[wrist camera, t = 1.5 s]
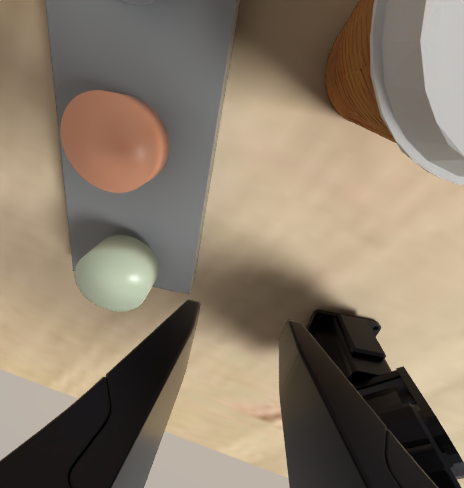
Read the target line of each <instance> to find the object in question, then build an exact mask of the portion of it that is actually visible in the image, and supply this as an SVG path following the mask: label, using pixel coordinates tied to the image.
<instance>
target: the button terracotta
mask: <svg viewBox="0 0 464 488" xmlns="http://www.w3.org/2000/svg"><path fill="white" fill-rule="evenodd" d="M60 130H61V140H62V145H63V148H64V151H65V153H66V156H67V158H68V160H69V161H70V163H71V165H72V166H73V167H74V169H75V170H76V171H77V172H78V173H79V174H80V176H81V177H83V178H84V179H85V180H86V181H87V182H89V183H90V184H92V185H93V186H95V187H97V188H99V189H102V190H104V191H108V192H113V193H125V192H129V191H132V190H135V189H137V188H138V187H140V186H142V185H143V184H145V183H146V182H148V181H150V180H151V179H153V178H154V177H156V176H157V175H158V174H159V173H160V172H161V171H162V170H163V168H164V167H165V165H166V162H167V160H168V156H169V138H168V133H167V131H166V128H165V126H164V123H163V121H162V120H161V118H160V117H159V115H158V114H157V113H156V111H155V110H154V109H153V108H152V107H150V106H149V105H148V104H147V103H145V102H144V101H142V100H140V99H138V98H136V97H133V96H130V95H125V94H119V93H114V92H108V91H102V90H93V91H87V92H84V93H82V94H80V95H78V96H76V97H75V98H74V99H73V100H72V101H71V102H70V103H69V104H68V105H67V107H66V109H65V111H64V113H63V116H62V120H61V128H60Z"/></svg>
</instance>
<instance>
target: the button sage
mask: <svg viewBox="0 0 464 488" xmlns="http://www.w3.org/2000/svg"><path fill="white" fill-rule="evenodd" d="M158 274H159V264H158V260H157V258H156V256H155V254H154V253H153V251H152V250H151V249H150V248H149V247H148V246H147V245H146V244H145V243H143V242H142V241H140V240H138V239H136V238H133V237H130V236H126V235H114V236H110V237H107V238H106V239H104V240H103V241H101V242H100V243H99V244H98V245H97V246H95V247H94V248H93V249H92V250H91V251H89V252H88V253H87V254H86V255H85V256H83V257H82V258H81V259H80V260H79V261H78V263H77V265H76V268H75V280H76V283H77V285H78V287H79V289H80V291H81V292H82V293H83V294H84V296H85V297H86V298H87V299H89V300H90V301H91V302H93V303H94V304H96V305H98V306H99V307H102V308H104V309H107V310H111V311H119V312H122V311H129V310H133V309H135V308H137V307H138V306H140V305H141V304H142V303H143V302H144V300H145V298H146V297H147V295H148V293H149V291H150V290H151V288H152V286H153V284H154V283H155V281H156V279H157V277H158Z"/></svg>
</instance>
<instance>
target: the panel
mask: <svg viewBox="0 0 464 488" xmlns="http://www.w3.org/2000/svg"><path fill="white" fill-rule="evenodd" d="M239 4H240V0H157V1H155V2H153V3H150V4H145V5H136V4H130V3H127V2H124V1H122V0H46V10H47V20H48V30H49V39H50V49H51V59H52V69H53V78H54V88H55V98H56V108H57V117H58V127H59V137H60V147H61V156H62V166H63V176H64V186H65V195H66V205H67V215H68V225H69V234H70V244H71V254H72V264H73V271H75V268H76V265H77V263H78V261H79V260H80V259H81V258H82V257H83V256H85V255H86V254H87V253H88V252H89V251H91V250H92V249H93V248H94V247H95V246H97V245H98V244H99V243H100V242H101V241H103V240H104V239H106V238H107V237H110V236H114V235H126V236H130V237H133V238H136V239H138V240H140V241H142V242H143V243H145V244H146V245H147V246H148V247H149V248H150V249H151V250H152V251H153V253H154V254H155V256H156V258H157V260H158V264H159V274H158V277H157V279H156V281H155V283H154V284H153V286H152V287H156V288H161V289H166V290H171V291H176V292H181V293H185V294H190V291H191V288H192V285H193V282H194V278H195V272H196V266H197V260H198V254H199V247H200V241H201V235H202V229H203V223H204V217H205V211H206V205H207V199H208V193H209V187H210V181H211V175H212V169H213V162H214V156H215V150H216V144H217V138H218V132H219V126H220V120H221V114H222V108H223V102H224V96H225V90H226V83H227V77H228V71H229V65H230V59H231V53H232V47H233V41H234V35H235V29H236V23H237V17H238V11H239ZM93 90H102V91H108V92H114V93H119V94H125V95H130V96H133V97H136V98H138V99H140V100H142V101H144V102H145V103H147V104H148V105H149V106H150V107H152V108H153V109H154V110H155V111H156V113H157V114H158V115H159V117H160V118H161V120H162V121H163V123H164V126H165V128H166V131H167V133H168V138H169V156H168V160H167V162H166V165H165V167H164V168H163V170H162V171H161V172H160V173H159V174H158V175H157V176H156V177H154V178H153V179H151V180H150V181H148V182H146V183H145V184H143V185H142V186H140V187H138V188H137V189H135V190H132V191H129V192H125V193H113V192H108V191H104V190H102V189H99V188H97V187H95V186H93V185H92V184H90V183H89V182H87V181H86V180H85V179H84V178H83V177H81V176H80V174H79V173H78V172H77V171H76V170H75V169H74V167H73V166H72V165H71V163H70V161H69V160H68V158H67V156H66V153H65V151H64V148H63V145H62V140H61V130H60V128H61V120H62V116H63V113H64V111H65V109H66V107H67V105H68V104H69V103H70V102H71V101H72V100H73V99H74V98H75V97H76V96H78V95H80V94H82V93H84V92H87V91H93Z"/></svg>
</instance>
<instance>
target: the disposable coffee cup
mask: <svg viewBox="0 0 464 488" xmlns="http://www.w3.org/2000/svg"><path fill="white" fill-rule="evenodd" d="M325 78H326V89H327V93H328V96H329V100H330V102H331V104H332V106H333V107H334V108H335V110H336V111H337V112H338V113H339V114H340V115H341V116H342V117H344V118H345V119H347V120H348V121H351V122H353V123H355V124H357V125H359V126H362V127H364V128H366V129H368V130H370V131H372V132H374V133H377V134H379V135H380V136H382V137H385V138H386V139H389V140H391V141H393V142H395V143H397V144H398V146H399V148H400V149H401V151H402V152H403V153H405V154H406V155H407V156H408V157H409V158H411V159H412V160H413V161H414V162H416V163H417V164H418V165H420V166H421V167H422V168H423V169H425V170H426V171H428V172H429V173H431V174H433V175H435V176H438V177H440V178H443V179H445V180H448V181H450V182H452V183H456V184H461V185H464V0H360V1H359V2H358V4H357V6H356V8H355V9H354V11H353V12H352V14H351V16H350V17H349V19H348V21H347V22H346V24H345V26H344V27H343V29H342V31H341V32H340V34H339V35H338V37H337V39H336V40H335V42H334V44H333V47H332V49H331V52H330V54H329V57H328V61H327V66H326V75H325Z"/></svg>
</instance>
